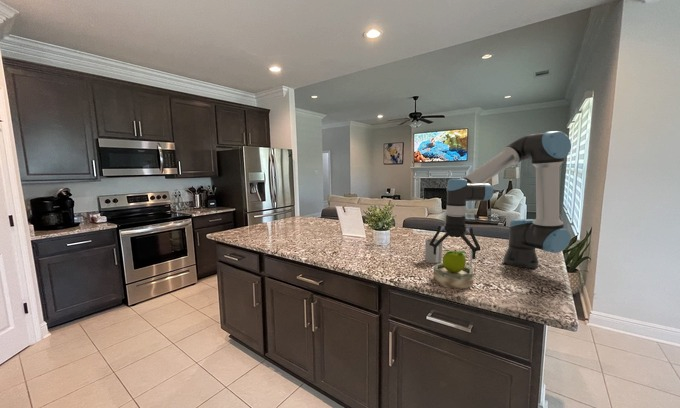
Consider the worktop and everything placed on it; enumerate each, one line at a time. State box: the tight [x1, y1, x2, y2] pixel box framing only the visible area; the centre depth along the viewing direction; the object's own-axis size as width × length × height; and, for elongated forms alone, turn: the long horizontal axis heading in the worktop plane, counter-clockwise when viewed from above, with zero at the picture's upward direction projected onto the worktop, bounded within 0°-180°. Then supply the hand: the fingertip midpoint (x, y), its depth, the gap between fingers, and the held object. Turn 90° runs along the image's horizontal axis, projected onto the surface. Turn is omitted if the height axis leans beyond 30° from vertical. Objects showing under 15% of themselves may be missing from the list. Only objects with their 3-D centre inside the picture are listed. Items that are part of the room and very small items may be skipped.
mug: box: [424, 238, 443, 264], centre depth 152 cm, size 12×8×11 cm
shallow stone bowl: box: [432, 262, 474, 290], centre depth 124 cm, size 16×16×6 cm
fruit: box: [442, 249, 467, 273], centre depth 123 cm, size 9×9×10 cm
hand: (453, 263), depth 123 cm, fingers open, 13 cm apart
